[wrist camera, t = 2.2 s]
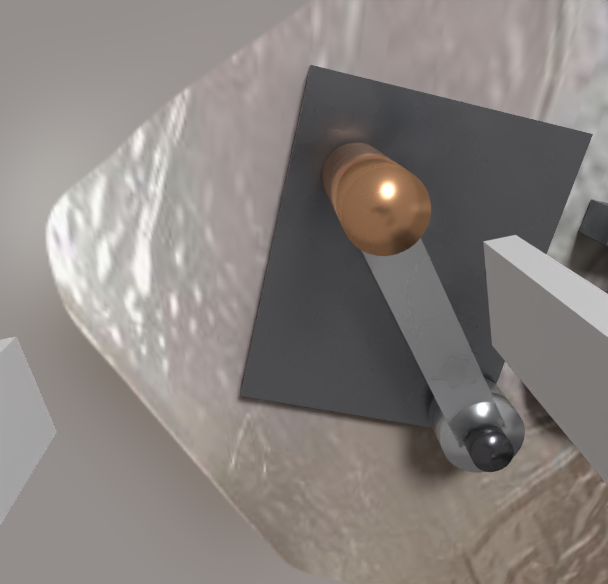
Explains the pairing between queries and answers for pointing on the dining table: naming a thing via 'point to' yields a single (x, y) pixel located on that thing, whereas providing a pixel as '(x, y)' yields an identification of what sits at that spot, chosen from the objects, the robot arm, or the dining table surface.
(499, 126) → the cracker base
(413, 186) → the lever
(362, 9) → the dining table surface
